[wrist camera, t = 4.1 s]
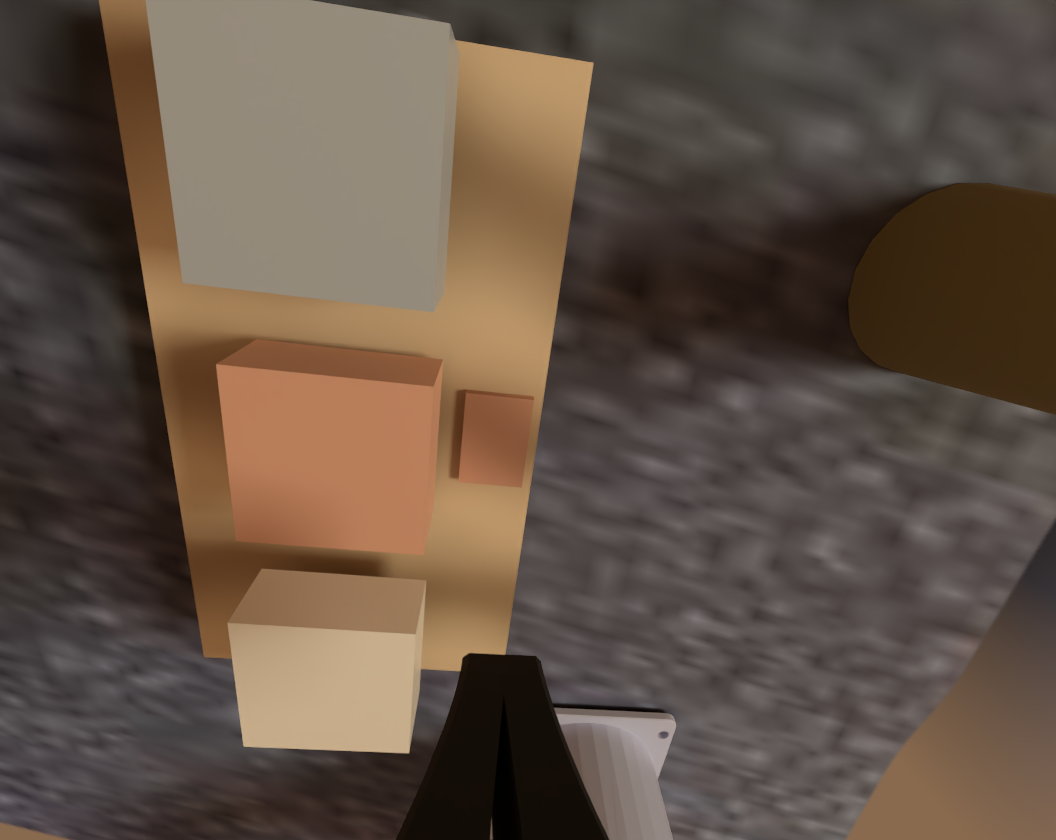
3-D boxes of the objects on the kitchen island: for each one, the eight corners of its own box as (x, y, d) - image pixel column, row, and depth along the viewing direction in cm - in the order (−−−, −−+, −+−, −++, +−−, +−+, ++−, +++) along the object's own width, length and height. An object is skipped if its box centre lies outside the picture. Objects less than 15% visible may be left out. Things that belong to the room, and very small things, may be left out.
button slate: (444, 293, 13) (433, 311, 11) (233, 267, 13) (182, 283, 11) (459, 53, 11) (450, 23, 9) (210, 13, 11) (141, -28, 9)
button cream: (419, 691, 19) (408, 753, 17) (272, 684, 18) (243, 746, 16) (426, 580, 17) (415, 634, 15) (261, 568, 16) (227, 622, 14)
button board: (502, 633, 22) (502, 703, 19) (229, 616, 21) (184, 688, 18) (582, 79, 14) (603, 49, 11) (151, 10, 13) (48, -43, 10)
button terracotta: (433, 510, 17) (423, 555, 15) (269, 497, 16) (235, 541, 14) (443, 359, 15) (433, 387, 13) (256, 339, 14) (215, 364, 12)
